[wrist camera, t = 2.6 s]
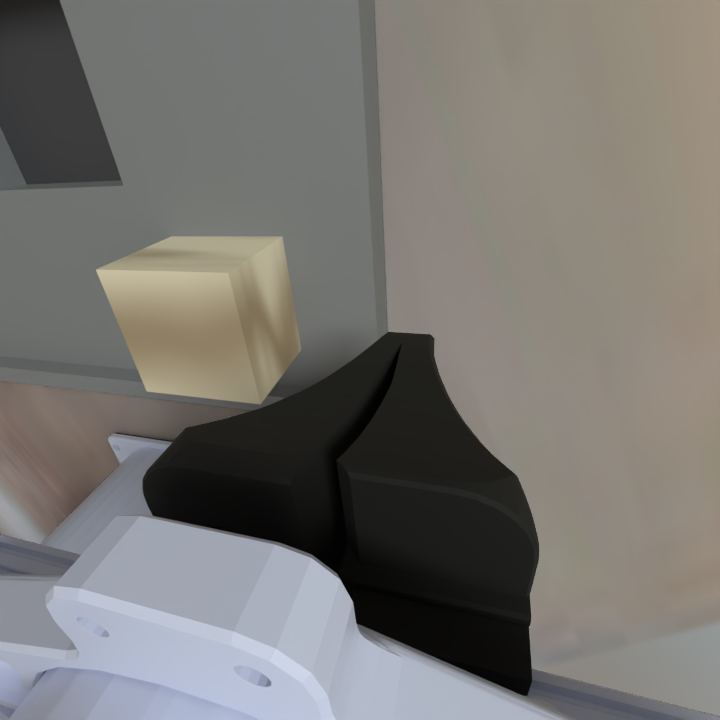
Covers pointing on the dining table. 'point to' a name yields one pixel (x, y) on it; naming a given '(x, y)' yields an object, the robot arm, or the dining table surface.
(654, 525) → the dining table surface
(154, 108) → the board
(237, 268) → the birch block
